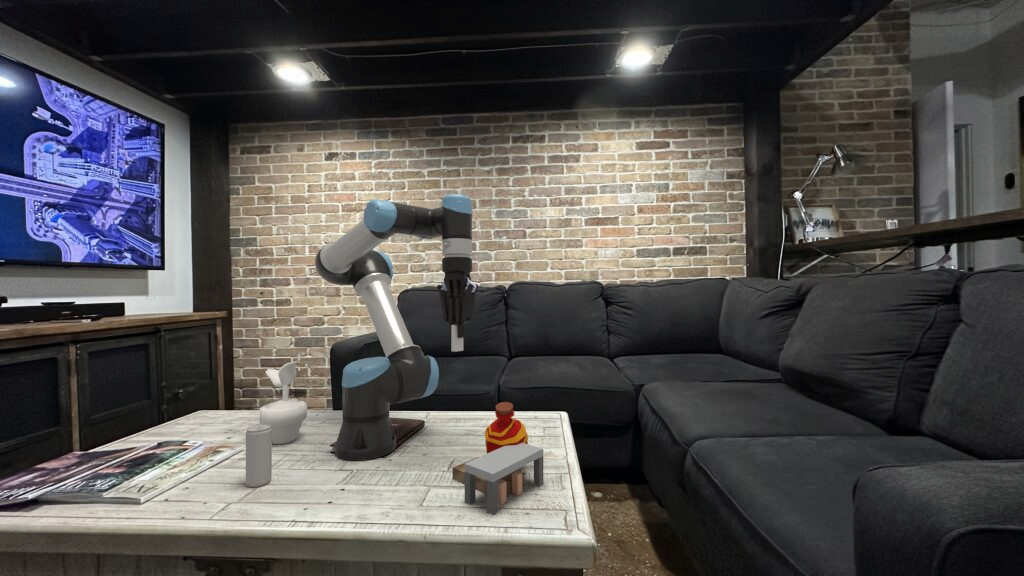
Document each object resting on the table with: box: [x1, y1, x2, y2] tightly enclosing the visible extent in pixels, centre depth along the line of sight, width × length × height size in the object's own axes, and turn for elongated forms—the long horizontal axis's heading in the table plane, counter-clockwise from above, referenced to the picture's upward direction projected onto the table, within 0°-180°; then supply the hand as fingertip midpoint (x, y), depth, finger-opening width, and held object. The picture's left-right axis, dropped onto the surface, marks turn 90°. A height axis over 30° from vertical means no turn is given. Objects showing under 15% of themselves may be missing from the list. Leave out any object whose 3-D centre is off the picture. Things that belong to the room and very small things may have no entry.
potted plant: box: [259, 352, 309, 445], centre depth 116 cm, size 13×12×25 cm
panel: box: [452, 456, 526, 497], centre depth 90 cm, size 14×8×3 cm, turn 48°
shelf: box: [464, 443, 545, 516], centre depth 85 cm, size 8×16×8 cm, turn 140°
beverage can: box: [245, 423, 273, 488], centre depth 90 cm, size 5×5×12 cm
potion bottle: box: [484, 401, 529, 454], centre depth 95 cm, size 10×10×15 cm
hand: (457, 350), depth 104 cm, fingers closed
